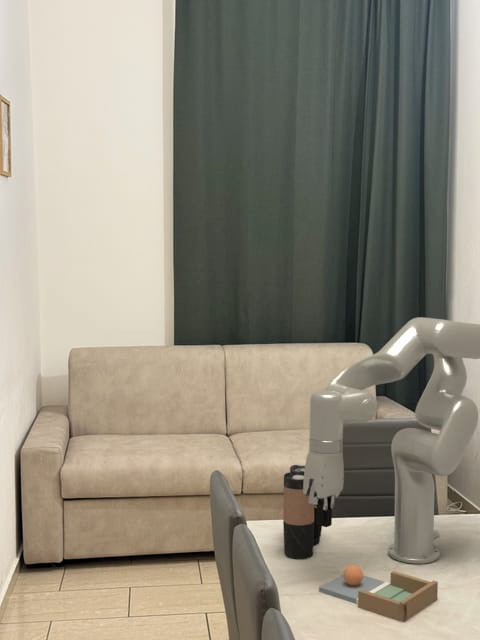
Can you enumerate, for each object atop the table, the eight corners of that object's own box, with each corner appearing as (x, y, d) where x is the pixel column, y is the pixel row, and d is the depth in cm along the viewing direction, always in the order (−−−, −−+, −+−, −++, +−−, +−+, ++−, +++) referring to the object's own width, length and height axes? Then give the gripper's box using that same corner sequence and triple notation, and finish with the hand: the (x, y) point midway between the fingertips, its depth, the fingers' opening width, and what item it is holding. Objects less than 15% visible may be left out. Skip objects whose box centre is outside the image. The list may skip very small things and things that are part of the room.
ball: (350, 579, 193) (350, 560, 193) (366, 584, 191) (367, 565, 190) (339, 585, 190) (339, 566, 190) (355, 590, 187) (356, 570, 187)
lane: (352, 573, 199) (352, 557, 199) (437, 599, 185) (437, 581, 184) (315, 593, 188) (316, 575, 188) (403, 622, 174) (403, 603, 174)
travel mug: (305, 562, 206) (305, 481, 204) (277, 555, 210) (277, 476, 208) (319, 552, 213) (319, 474, 211) (292, 546, 217) (292, 469, 215)
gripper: (331, 438, 200) (329, 514, 202) (292, 448, 189) (290, 529, 191) (358, 443, 195) (355, 521, 197) (320, 454, 184) (318, 537, 186)
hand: (323, 525), depth 194 cm, fingers closed
